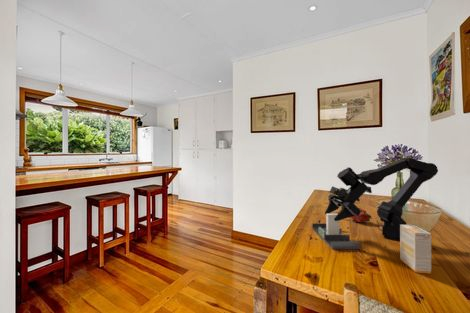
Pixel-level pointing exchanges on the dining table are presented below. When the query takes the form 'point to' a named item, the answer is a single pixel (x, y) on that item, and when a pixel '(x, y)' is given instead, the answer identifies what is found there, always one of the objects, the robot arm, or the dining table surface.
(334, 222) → the white pedestal column
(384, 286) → the dining table surface
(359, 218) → the dragon fruit
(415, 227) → the supplement box
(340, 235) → the rack
